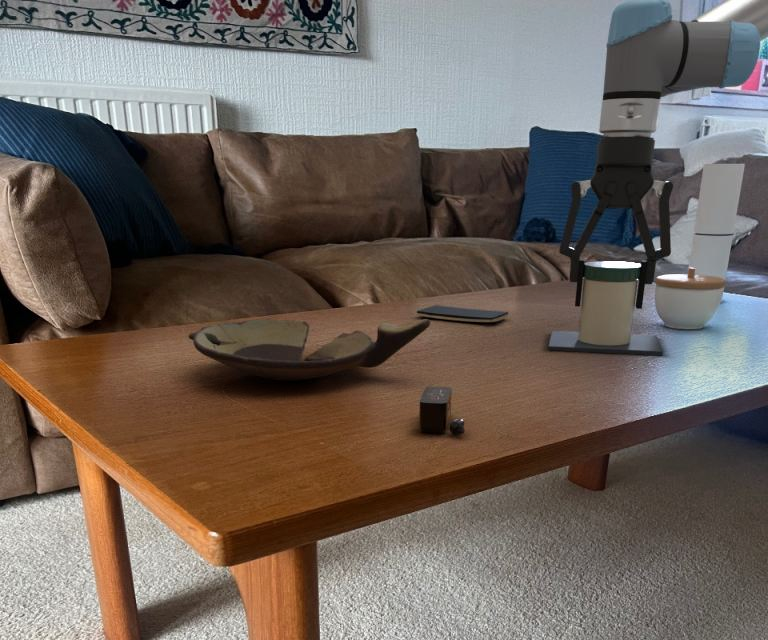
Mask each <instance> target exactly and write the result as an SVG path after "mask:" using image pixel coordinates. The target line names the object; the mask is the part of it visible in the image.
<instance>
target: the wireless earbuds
mask: <svg viewBox="0 0 768 640" xmlns="http://www.w3.org/2000/svg"><path fill="white" fill-rule="evenodd" d="M452 396H453V388H452V387H450V386H433V385H430V386H426V387H425V388H424V389H423V393H422V395H421V397H420V399H419V413H418V414H419V417H418V419H419V421H418V422H419V423H418V424H419V426H418V427H419V430H420V431H421V432H423V433H433V434H443V433H444V432H445V431H446V430H447V428H448V426H449V432H450V433H451V434H452V435H463V434H465V421H464V420H463V419H462V418H456V419H454V420H453V421H452V422H450V424H449V421H450V418H451V415H452ZM448 424H449V425H448Z"/></svg>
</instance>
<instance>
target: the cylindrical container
mask: <svg viewBox="0 0 768 640" xmlns="http://www.w3.org/2000/svg"><path fill="white" fill-rule="evenodd" d="M745 166H746V163H703V169H702V175H701V182H700V188H699V194H698V201H697V209H696V214H695V221H694V229H693V234H692V235H693V236H692V242H691V248H690V249H691V250H690V255H689V261H688V269H687V271H688V270H689V268H695V274H694V275H705V276H714V277H719V278H722V279H724V280H725V281H726V278H727V273H728V266H729V262H730V261H729V260H730V254H731V250H732V249H731V248H732V243H733V237H734V231H735V226H736V219H737V213H738V208H739V203H740V196H741V190H742V185H743V178H744V173H745V172H744V171H745ZM724 290H725V287H724V288H723V292H725V291H724ZM723 297H724V293H723V294H722V299H721V302H720V303H722V302H723Z"/></svg>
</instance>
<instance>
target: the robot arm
mask: <svg viewBox="0 0 768 640" xmlns="http://www.w3.org/2000/svg"><path fill="white" fill-rule="evenodd" d="M672 8H673V7H672V4H671V3H670V2H669V1H667V0H629V1H625V2H622V3H620V4H619V5H617V6H616V7H615V8H614V9H613V11H612V14H611V18H610V24H609V29H608V36H607V42H606V56H605V68H604V82H603V92H602V93H603V94H602V100H601V109H600V117H599V120H600V121H599V127H598V128H599V129H598V132H599V133H600V134H602V136H601V137H600V138H599V140H597V147H596V158H595V168H594V173H593V174H592V176H591V178H590V179H586V180H582V181H581V180H580V181H578V180H575V181H573V182H572V183H571V188H570V189H571V203H570V207H569V211H568V215H567V218H566V222H565V227H564V229H563V234H562V237H561V241H560V245H559V250H558V252H559V254H560V255H563V256H565V257H568V258H569V259H570V269H569V276H568V277H569V282H570V283H576V289H575V290H576V291H575V299H574V307H577V308H578V307H579V308H581V302H582V292H583V282H584V277H583V271H584V263H585V261H586V259H585V258H581V256H582V253H583V252H584V250H585V248H586V246H587V245H588V243H589V240H590V239H591V237H592V235H593V233H594V231H595V229H596V227H597V225H598V223H600V222H599V221H600V220H601V218H602V216H603V214H604V213H605V210H606V209H607V210H614V209H623V210H632V213H633V216H634V219H635V222H636V225H637V229H638V232H639V235H640V238H641V242H642V245H643V248H644V252H645V255H646V259H641V260H640V265H641V273H640V279H638V283H637V291H636V299H635V309H638V310H642V309H643V302H644V296H645V288H646V285H652V284H653V283H654V280H655V272H656V265H657V262H658V261H659V260H661V259H663V258H667V257H670V255H671V254H672V246H671V245H672V244H671V243H672V242H671V215H670V214H671V213H670V212H671V211H670V199H671V196H672V192H673V188H674V183H673V182H672V181H661V180H656V179H655V178H654V176H653V171H652V170H653V169H652V168H653V160H654V153H655V145H656V139H655V138H654V137H652V134H654V133H655V132H656V131H657V129H658V120H659V111H660V104H661V98H664V97H667V96H670V95H673V94H678V93H682V92H689V91H695V90H699V89H705V88H718V89H724V88H736V87H740V86H742V85H744V84H745V83H746V82H747V81H748V80H749V79H750V78H751V76H752V74H753V73H754V71H755V68H756V67H757V63H758V61H759V56H760V51H761V50H760V49H761V42H762V41H763V40H765V39H767V38H768V0H723V1H721V2H719V3H718V4H716V5H714V6H713V7H711V8H710V9H707V10H706V11H704V12H703V13H701V14H699V15H698V16H696V17H695V18H693V19H691V20H690V21H682V20H677V19H673V15H672V10H673V9H672ZM652 188H653V190H654V195H655V197H656V198H658V222H659V223H658V225H659V244H660V245H659V247H660V248H657V249H656V248H655V244H654V242H653V241H654V240H653V238H652V236H651V232H650V229H649V225H648V222H647V218H646V215H645V212H644V207H643V205H642V202H641V201H642V199H644V197H645V196H646V195H647V194H648V192H650V190H651V189H652ZM589 189H592V191H593V193H594V194H595V196H596V197H597V200H598V202H597V204H596V206H595V208H594V210H593V212H592V214H591V216H590V218H589V219H588V221H587V223H586V225H585V227H584V228H583V230H582V233H581V234H580V236H579V239H578V240H577V242H576V244H575V246H574V247H571V246H570V244H571V240H572V236H573V233H574V228H575V224H576V221H577V217H578V213H579V210H580V206H581V200H582V198H584V197H586V195H587V193H588V190H589Z"/></svg>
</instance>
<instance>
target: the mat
mask: <svg viewBox="0 0 768 640" xmlns="http://www.w3.org/2000/svg"><path fill="white" fill-rule="evenodd" d="M578 335H579V331H564V330H563V331H561V330H552V331H551V333H550V338H549V344H548V346H547V347H548V348H547V350H548V351H557V352H577V353H578V352H579V353H581V352H582V353H599V354H600V353H601V354H619V355H639V356H640V355H643V356H663V355H664V354H663V353H664V350H663V348H662V346H661V343H660V340H659V337H658V335H657V334H637V333H636V334H635V333H631V339H630V343H628V344H624V345H615V346H605V345H593V344H588V343H584V342H581V341H579V340H578Z"/></svg>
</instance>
